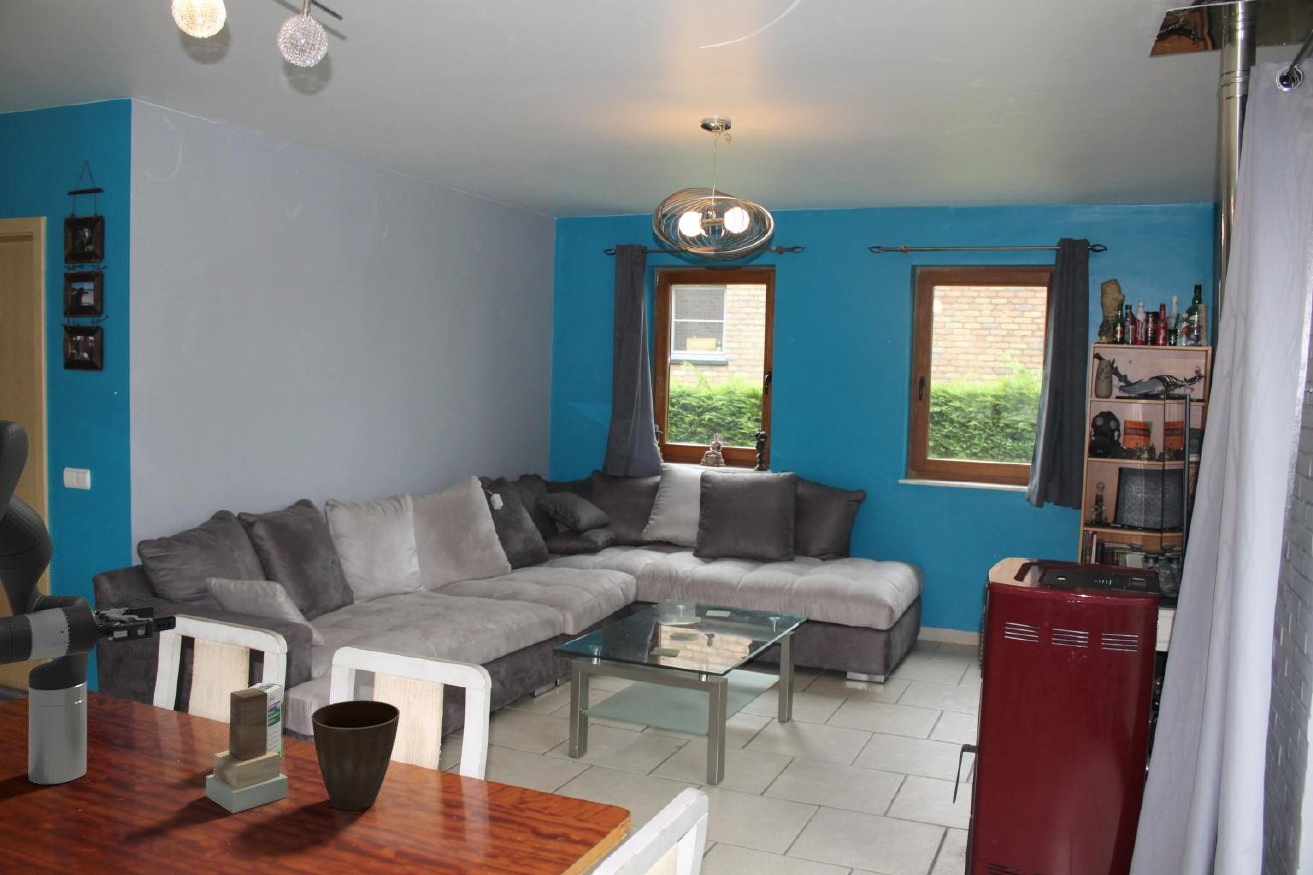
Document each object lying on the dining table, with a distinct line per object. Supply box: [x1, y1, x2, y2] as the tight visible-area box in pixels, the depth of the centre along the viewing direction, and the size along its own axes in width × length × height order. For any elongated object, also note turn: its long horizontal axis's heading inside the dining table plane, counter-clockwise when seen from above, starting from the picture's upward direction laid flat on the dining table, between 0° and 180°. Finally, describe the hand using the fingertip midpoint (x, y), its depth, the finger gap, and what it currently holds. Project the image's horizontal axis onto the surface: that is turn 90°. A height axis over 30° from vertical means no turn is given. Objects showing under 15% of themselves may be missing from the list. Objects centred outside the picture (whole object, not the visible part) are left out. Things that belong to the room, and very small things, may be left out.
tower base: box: [205, 772, 289, 814], centre depth 183 cm, size 10×10×4 cm
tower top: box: [212, 748, 281, 789], centre depth 183 cm, size 8×8×4 cm
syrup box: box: [247, 682, 284, 759], centre depth 200 cm, size 6×6×14 cm
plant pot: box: [311, 699, 401, 811], centre depth 182 cm, size 15×15×16 cm
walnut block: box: [228, 687, 267, 760], centre depth 183 cm, size 4×4×11 cm
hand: (163, 616), depth 172 cm, fingers open, 8 cm apart
